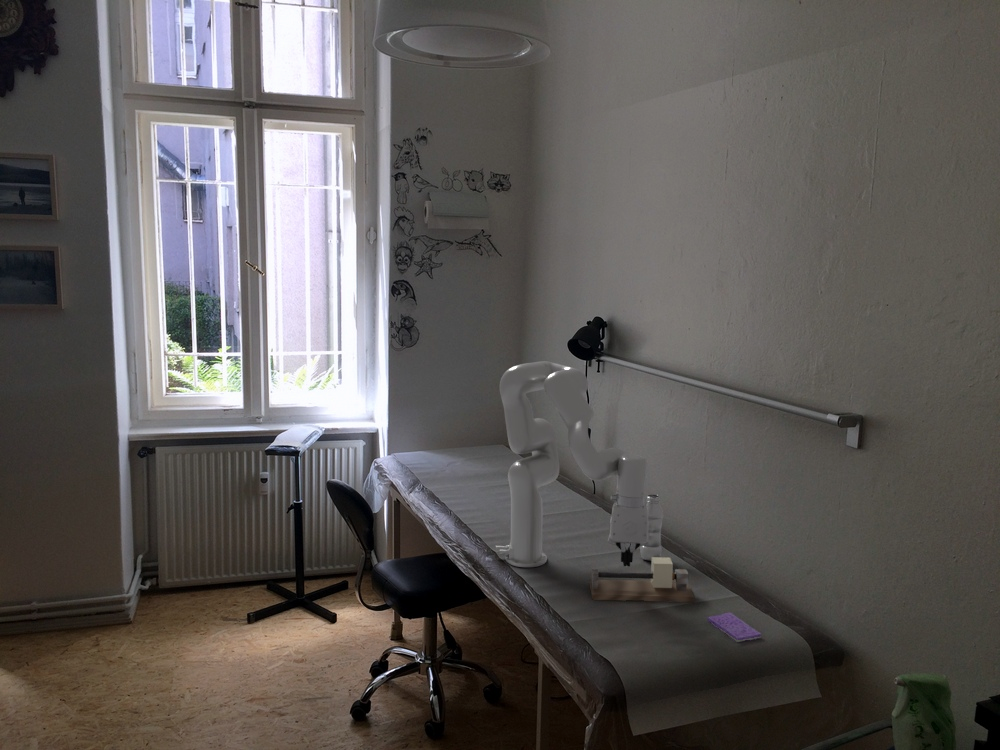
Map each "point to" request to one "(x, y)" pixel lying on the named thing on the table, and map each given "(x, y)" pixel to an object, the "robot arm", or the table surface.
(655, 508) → the plastic bottle
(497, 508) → the table surface
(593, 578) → the wooden linear slide
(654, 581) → the cream foam block
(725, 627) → the sponges
